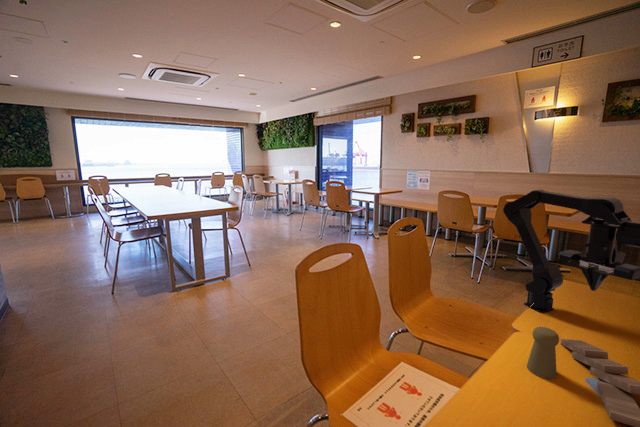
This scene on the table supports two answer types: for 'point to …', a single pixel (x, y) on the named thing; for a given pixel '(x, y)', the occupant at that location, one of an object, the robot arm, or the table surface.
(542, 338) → the pepper shaker
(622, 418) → the walnut tile
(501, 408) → the table surface
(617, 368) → the walnut tile
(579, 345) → the walnut tile
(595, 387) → the slate end tile
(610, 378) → the walnut tile
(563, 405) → the table surface
